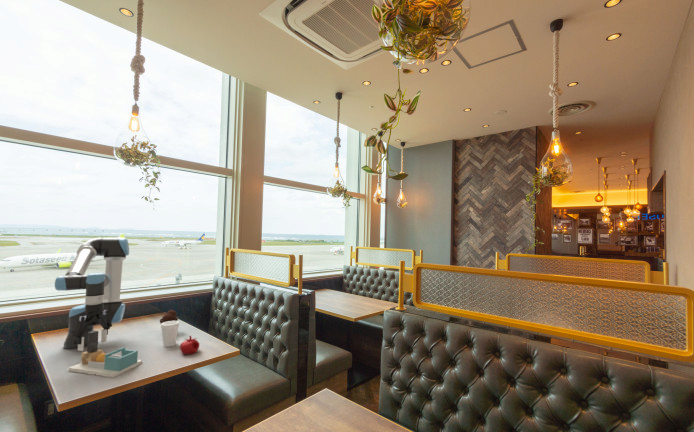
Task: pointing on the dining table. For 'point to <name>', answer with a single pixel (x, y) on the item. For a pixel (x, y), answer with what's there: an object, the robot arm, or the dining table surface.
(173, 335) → the foam cup
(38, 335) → the dining table surface
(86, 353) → the block
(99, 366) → the board
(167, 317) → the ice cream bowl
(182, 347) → the pomegranate
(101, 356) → the ball
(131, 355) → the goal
